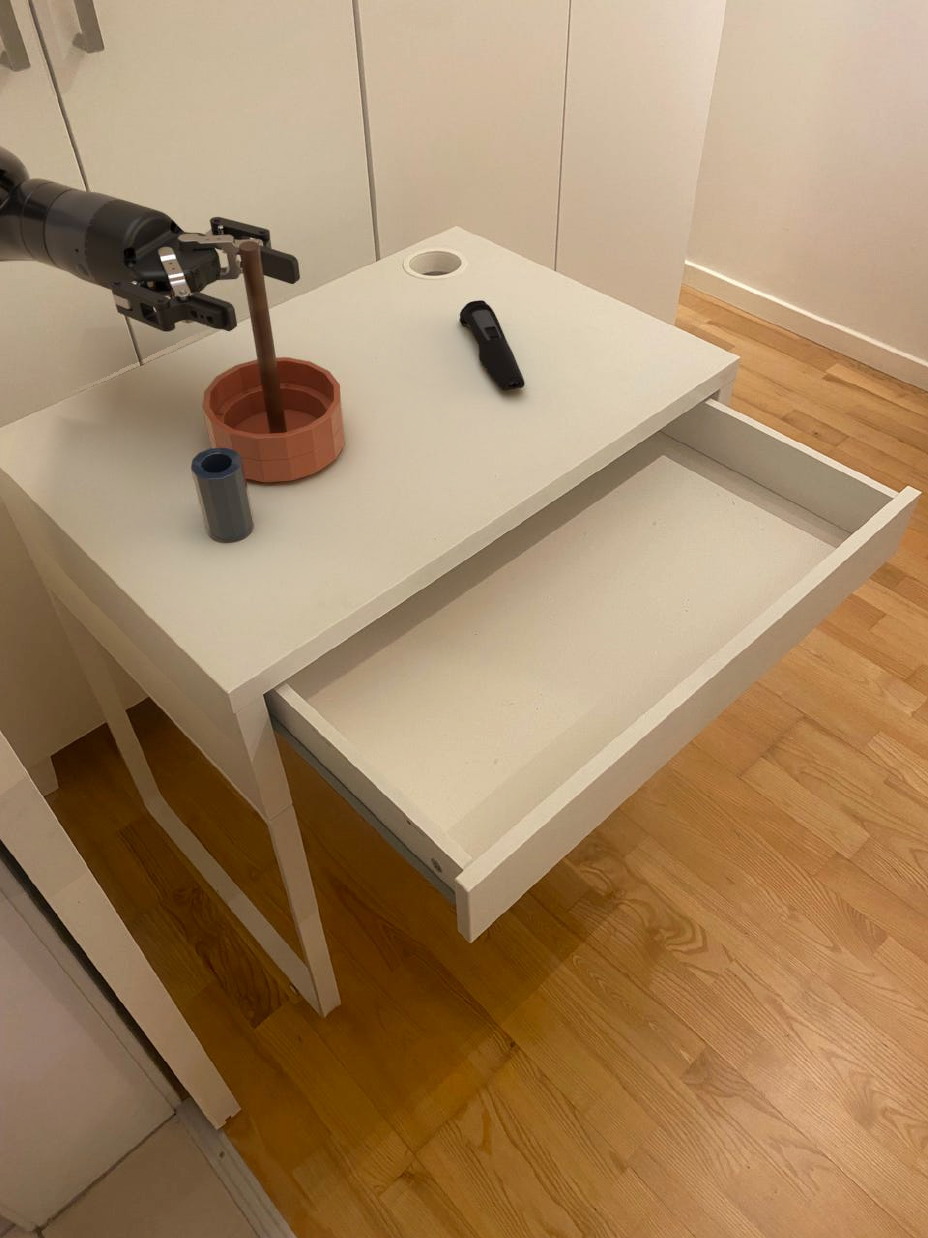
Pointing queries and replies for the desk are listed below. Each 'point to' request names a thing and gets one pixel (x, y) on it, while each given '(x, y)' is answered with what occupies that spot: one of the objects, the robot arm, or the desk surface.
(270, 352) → the stick
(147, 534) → the desk surface
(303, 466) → the bowl
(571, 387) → the desk surface
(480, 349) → the electric trimmer
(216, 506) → the tube
